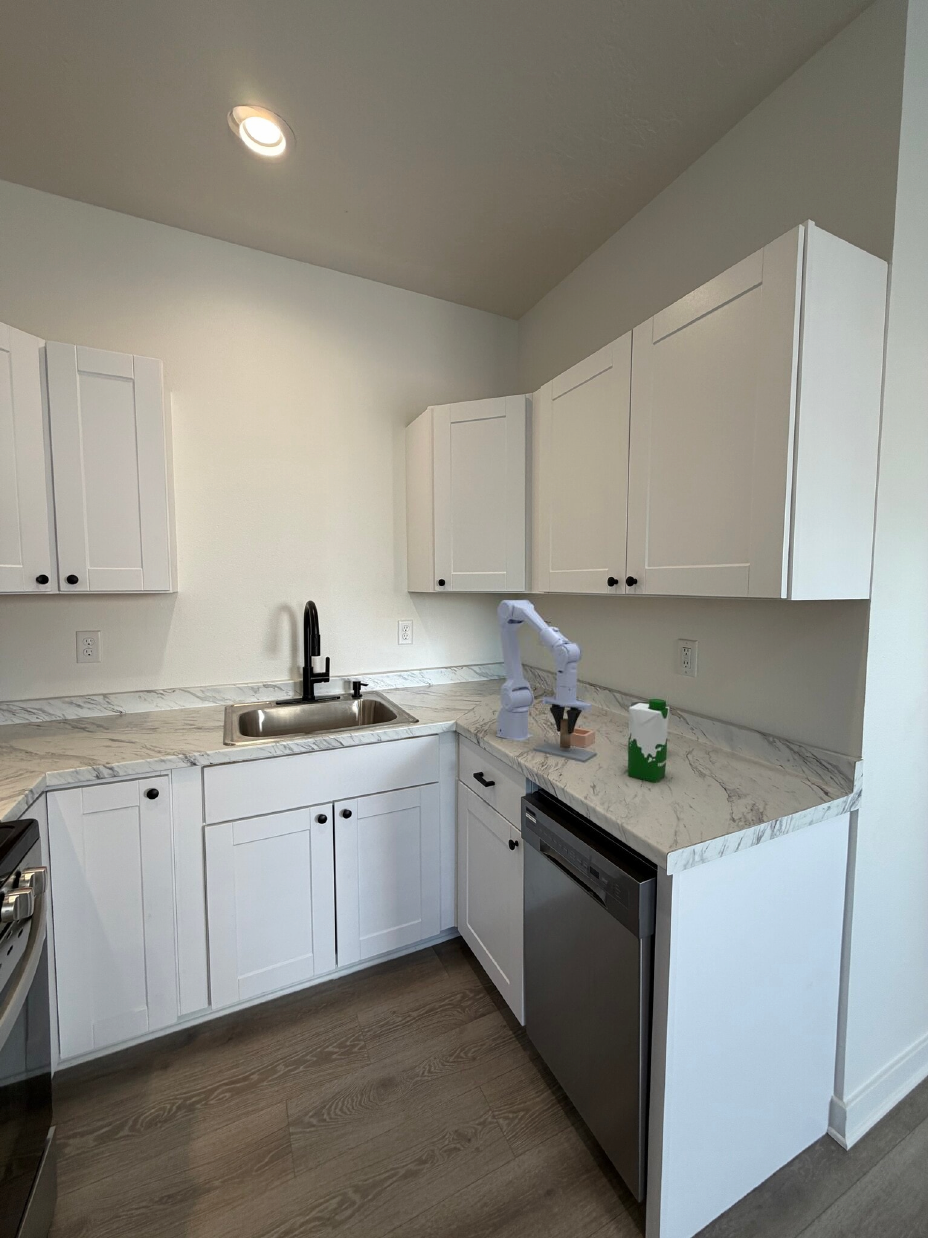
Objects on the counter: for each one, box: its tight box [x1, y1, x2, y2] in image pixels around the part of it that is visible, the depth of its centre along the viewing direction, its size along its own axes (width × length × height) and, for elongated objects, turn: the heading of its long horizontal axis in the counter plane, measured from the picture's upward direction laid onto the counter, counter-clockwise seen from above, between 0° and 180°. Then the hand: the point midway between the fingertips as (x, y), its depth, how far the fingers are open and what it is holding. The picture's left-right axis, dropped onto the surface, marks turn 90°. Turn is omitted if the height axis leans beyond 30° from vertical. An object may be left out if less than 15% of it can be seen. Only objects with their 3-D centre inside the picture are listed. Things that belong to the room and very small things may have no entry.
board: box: [533, 741, 598, 764], centre depth 149 cm, size 16×8×1 cm, turn 52°
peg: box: [559, 717, 572, 749], centre depth 149 cm, size 3×3×8 cm
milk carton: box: [627, 698, 670, 784], centre depth 132 cm, size 9×9×20 cm
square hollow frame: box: [571, 726, 596, 749], centre depth 159 cm, size 7×7×4 cm
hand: (565, 732), depth 149 cm, fingers closed on peg, 3 cm apart
